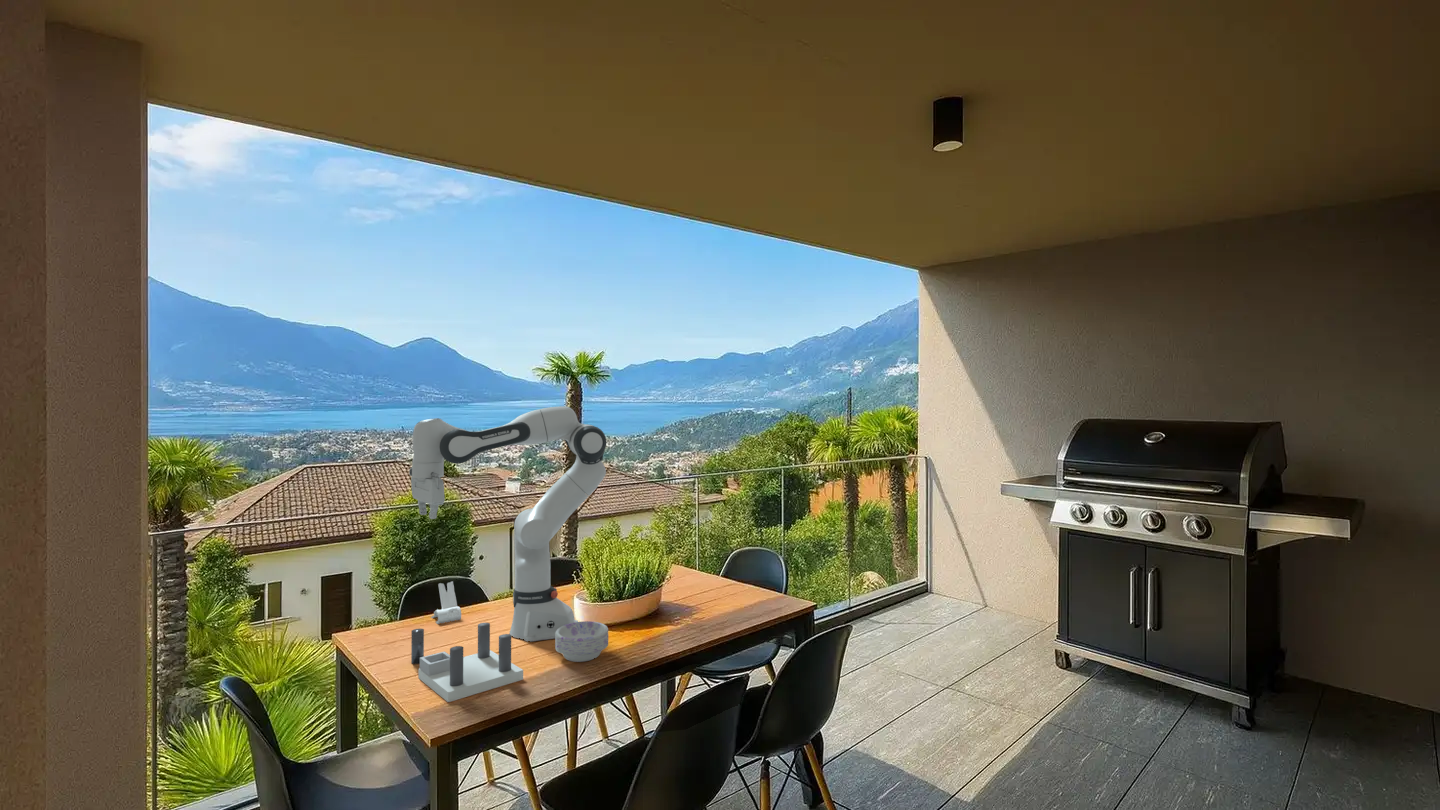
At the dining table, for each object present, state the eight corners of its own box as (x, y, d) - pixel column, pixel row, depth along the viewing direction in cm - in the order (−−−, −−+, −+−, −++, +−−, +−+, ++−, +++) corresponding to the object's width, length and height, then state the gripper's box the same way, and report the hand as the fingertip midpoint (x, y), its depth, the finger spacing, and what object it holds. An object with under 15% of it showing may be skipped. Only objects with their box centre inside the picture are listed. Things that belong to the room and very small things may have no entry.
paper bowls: (560, 669, 183) (560, 641, 183) (551, 651, 197) (551, 624, 197) (614, 661, 189) (614, 633, 189) (601, 644, 203) (601, 618, 203)
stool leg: (424, 659, 191) (425, 628, 191) (422, 663, 187) (422, 631, 187) (413, 660, 190) (413, 628, 190) (410, 664, 187) (410, 632, 187)
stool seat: (490, 658, 191) (490, 618, 191) (523, 679, 177) (523, 636, 177) (418, 678, 177) (418, 635, 177) (448, 702, 163) (448, 655, 163)
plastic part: (438, 625, 221) (438, 590, 220) (429, 617, 228) (429, 584, 228) (461, 620, 225) (461, 586, 225) (452, 613, 233) (452, 580, 233)
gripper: (450, 473, 197) (449, 519, 197) (428, 468, 212) (428, 511, 212) (428, 474, 193) (427, 522, 193) (407, 469, 208) (407, 513, 208)
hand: (427, 516), depth 202 cm, fingers open, 8 cm apart
